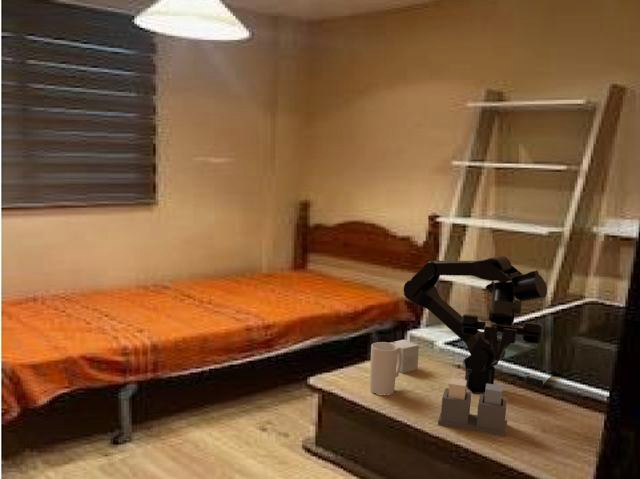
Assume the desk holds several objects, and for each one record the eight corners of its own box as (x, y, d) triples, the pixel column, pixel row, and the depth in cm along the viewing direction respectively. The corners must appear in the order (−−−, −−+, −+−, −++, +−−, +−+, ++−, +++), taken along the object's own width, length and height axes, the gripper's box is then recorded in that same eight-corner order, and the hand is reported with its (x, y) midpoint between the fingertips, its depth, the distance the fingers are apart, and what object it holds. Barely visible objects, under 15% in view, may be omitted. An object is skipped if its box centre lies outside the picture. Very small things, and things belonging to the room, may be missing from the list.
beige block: (448, 406, 147) (451, 378, 146) (464, 408, 146) (466, 380, 144) (447, 412, 143) (449, 383, 142) (462, 415, 142) (465, 386, 141)
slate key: (483, 412, 144) (486, 383, 143) (499, 414, 143) (502, 385, 142) (482, 418, 141) (485, 389, 140) (499, 421, 140) (502, 391, 139)
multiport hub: (555, 373, 179) (555, 366, 179) (541, 389, 167) (542, 381, 167) (539, 370, 182) (540, 362, 181) (524, 385, 170) (525, 377, 169)
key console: (441, 413, 149) (443, 387, 148) (506, 424, 144) (509, 397, 143) (437, 424, 143) (440, 397, 142) (505, 436, 138) (508, 408, 137)
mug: (381, 398, 156) (384, 352, 154) (363, 389, 161) (365, 345, 159) (409, 389, 162) (412, 345, 160) (390, 381, 167) (393, 338, 165)
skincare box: (418, 370, 177) (419, 345, 175) (401, 373, 173) (403, 348, 172) (403, 363, 182) (405, 338, 180) (387, 366, 178) (389, 342, 177)
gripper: (464, 282, 152) (456, 338, 144) (545, 290, 147) (541, 350, 138) (465, 305, 161) (457, 360, 153) (541, 314, 156) (537, 371, 147)
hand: (497, 360), depth 147 cm, fingers closed
